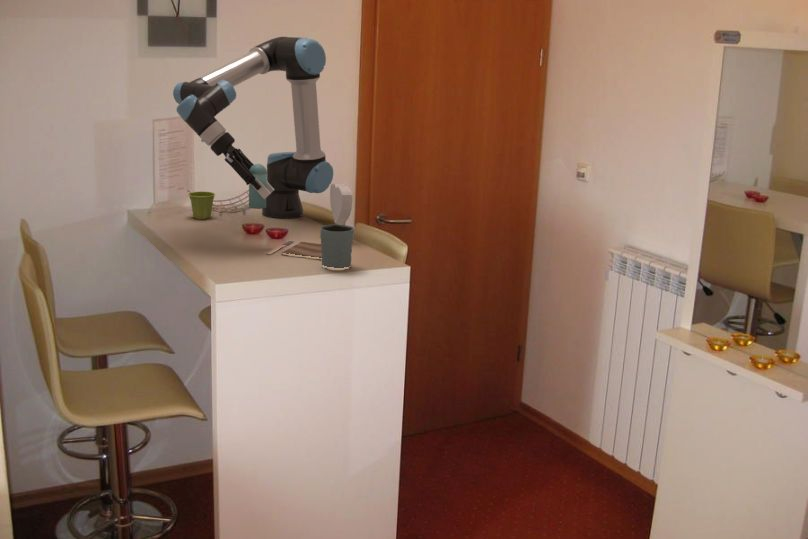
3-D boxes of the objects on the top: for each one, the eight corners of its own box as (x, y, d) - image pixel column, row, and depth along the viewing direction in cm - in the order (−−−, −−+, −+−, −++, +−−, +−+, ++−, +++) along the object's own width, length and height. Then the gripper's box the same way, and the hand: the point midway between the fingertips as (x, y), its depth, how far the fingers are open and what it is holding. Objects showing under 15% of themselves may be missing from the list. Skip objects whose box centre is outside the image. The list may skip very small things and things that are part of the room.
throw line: (289, 241, 305) (289, 240, 305) (293, 242, 304) (293, 241, 304) (265, 254, 288) (265, 253, 288) (270, 254, 288) (270, 253, 288)
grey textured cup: (325, 272, 271) (326, 232, 268) (314, 263, 280) (315, 224, 277) (357, 270, 275) (359, 230, 272) (346, 261, 284) (347, 223, 281)
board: (301, 244, 303) (301, 241, 302) (341, 248, 299) (341, 246, 299) (281, 255, 288) (281, 252, 287) (323, 260, 284) (323, 257, 284)
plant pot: (212, 221, 329) (212, 197, 327) (185, 219, 329) (185, 195, 327) (217, 215, 338) (217, 192, 336) (192, 214, 338) (191, 190, 336)
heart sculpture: (353, 243, 307) (354, 189, 302) (338, 243, 306) (339, 189, 301) (340, 232, 321) (342, 181, 316) (326, 232, 320) (328, 181, 315)
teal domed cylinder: (253, 204, 297) (254, 161, 294) (269, 206, 296) (270, 163, 292) (245, 207, 292) (246, 164, 289) (261, 209, 291) (262, 166, 287)
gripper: (216, 143, 298) (266, 196, 302) (201, 151, 281) (255, 207, 285) (233, 127, 297) (283, 181, 301) (219, 134, 279) (272, 192, 283)
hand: (269, 194), depth 293 cm, fingers closed on teal domed cylinder, 5 cm apart
